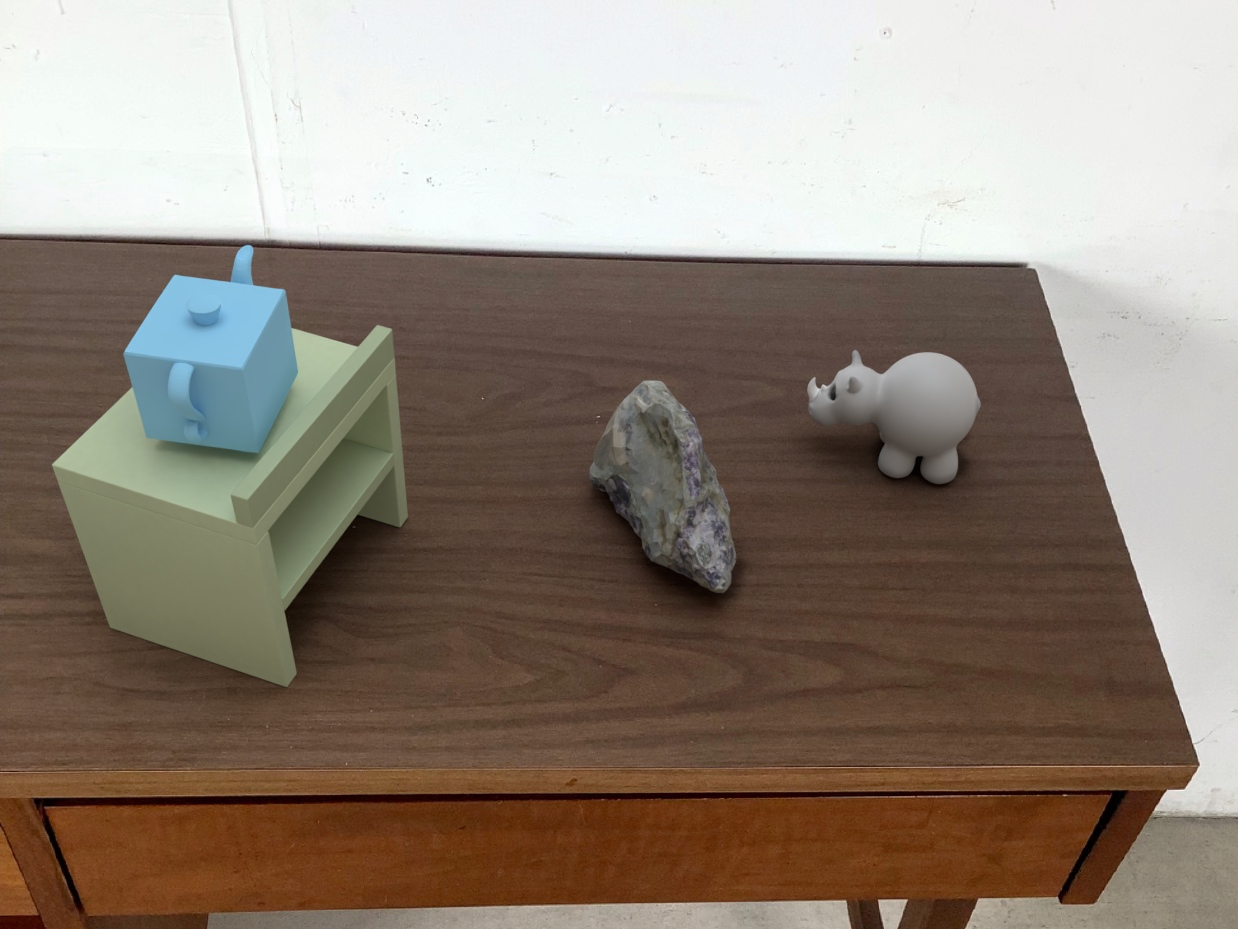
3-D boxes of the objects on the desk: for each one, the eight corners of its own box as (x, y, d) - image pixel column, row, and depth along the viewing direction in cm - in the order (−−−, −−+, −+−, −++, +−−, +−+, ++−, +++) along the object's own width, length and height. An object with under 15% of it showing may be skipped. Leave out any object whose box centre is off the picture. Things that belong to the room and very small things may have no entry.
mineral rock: (727, 618, 81) (749, 502, 74) (561, 592, 82) (566, 475, 74) (744, 485, 90) (765, 369, 82) (594, 463, 90) (602, 345, 83)
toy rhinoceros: (801, 408, 96) (821, 312, 90) (959, 436, 96) (991, 341, 89) (791, 469, 92) (812, 372, 85) (957, 499, 91) (990, 404, 84)
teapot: (216, 337, 75) (192, 222, 70) (317, 351, 75) (301, 237, 70) (139, 469, 67) (105, 352, 62) (252, 485, 67) (228, 368, 62)
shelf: (109, 628, 77) (40, 434, 66) (249, 467, 87) (209, 277, 76) (287, 688, 75) (247, 499, 64) (408, 517, 85) (392, 328, 74)
